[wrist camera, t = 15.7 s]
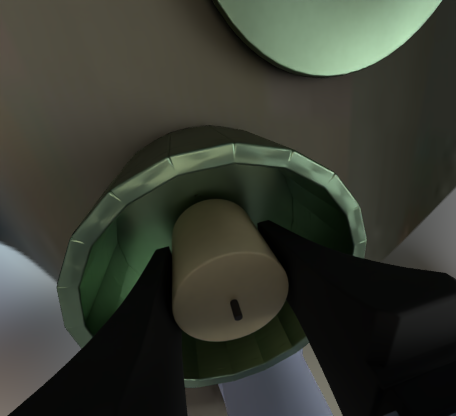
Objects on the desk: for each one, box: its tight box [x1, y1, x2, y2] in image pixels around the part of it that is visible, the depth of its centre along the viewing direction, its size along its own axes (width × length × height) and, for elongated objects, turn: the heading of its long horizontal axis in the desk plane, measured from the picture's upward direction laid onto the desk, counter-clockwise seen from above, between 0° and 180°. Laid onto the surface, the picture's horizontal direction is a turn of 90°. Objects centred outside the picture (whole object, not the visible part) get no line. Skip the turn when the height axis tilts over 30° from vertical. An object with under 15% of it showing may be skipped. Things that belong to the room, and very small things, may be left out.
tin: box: [57, 125, 367, 388], centre depth 11 cm, size 11×11×5 cm
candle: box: [172, 199, 289, 341], centre depth 10 cm, size 4×4×5 cm
